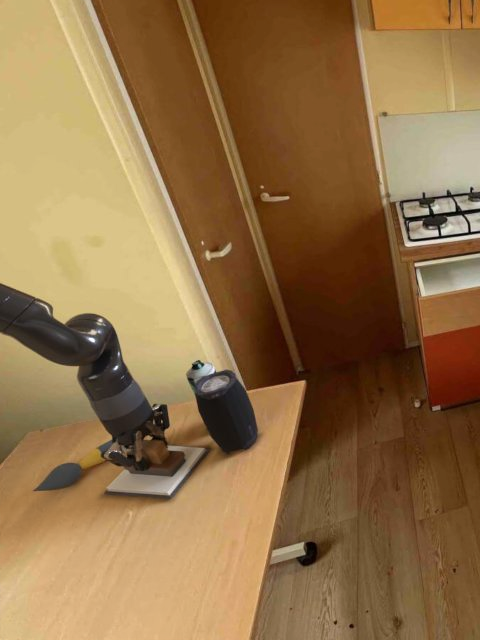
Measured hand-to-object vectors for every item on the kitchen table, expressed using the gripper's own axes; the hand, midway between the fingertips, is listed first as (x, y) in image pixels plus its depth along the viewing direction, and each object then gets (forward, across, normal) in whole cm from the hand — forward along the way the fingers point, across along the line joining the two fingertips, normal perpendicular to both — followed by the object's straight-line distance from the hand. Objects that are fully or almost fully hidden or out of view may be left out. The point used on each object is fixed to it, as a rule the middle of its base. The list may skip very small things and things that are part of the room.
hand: (153, 459), depth 93 cm
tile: (+4, 0, 0) cm, 4 cm away
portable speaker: (+4, -9, +13) cm, 16 cm away
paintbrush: (+4, -1, -16) cm, 17 cm away
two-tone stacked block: (+3, 0, 0) cm, 3 cm away
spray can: (+4, -14, +5) cm, 15 cm away
